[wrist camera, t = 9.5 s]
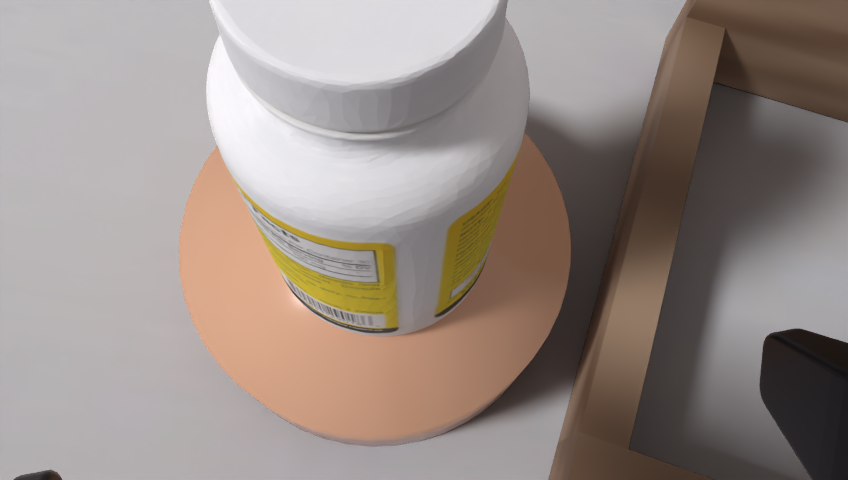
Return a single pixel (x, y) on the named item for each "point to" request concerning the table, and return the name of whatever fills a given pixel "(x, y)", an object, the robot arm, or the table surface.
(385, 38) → the supplement bottle
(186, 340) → the table surface
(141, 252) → the table surface
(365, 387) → the terracotta stand
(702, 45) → the brown wooden frame
